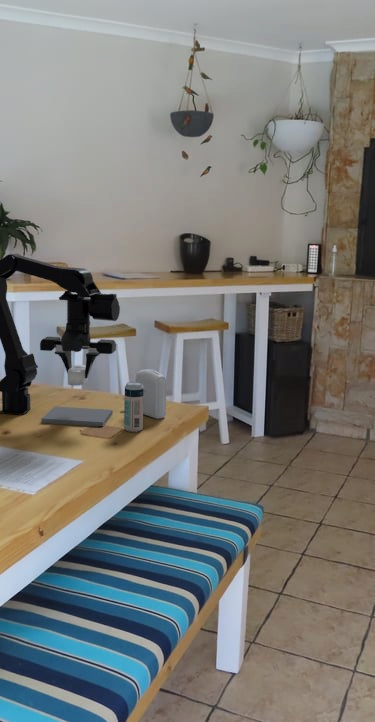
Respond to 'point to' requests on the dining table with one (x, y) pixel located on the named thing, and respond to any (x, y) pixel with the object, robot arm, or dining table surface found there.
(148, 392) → the photo printer
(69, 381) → the grey rounded piece
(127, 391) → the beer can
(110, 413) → the slate board
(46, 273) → the robot arm
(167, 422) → the dining table surface
